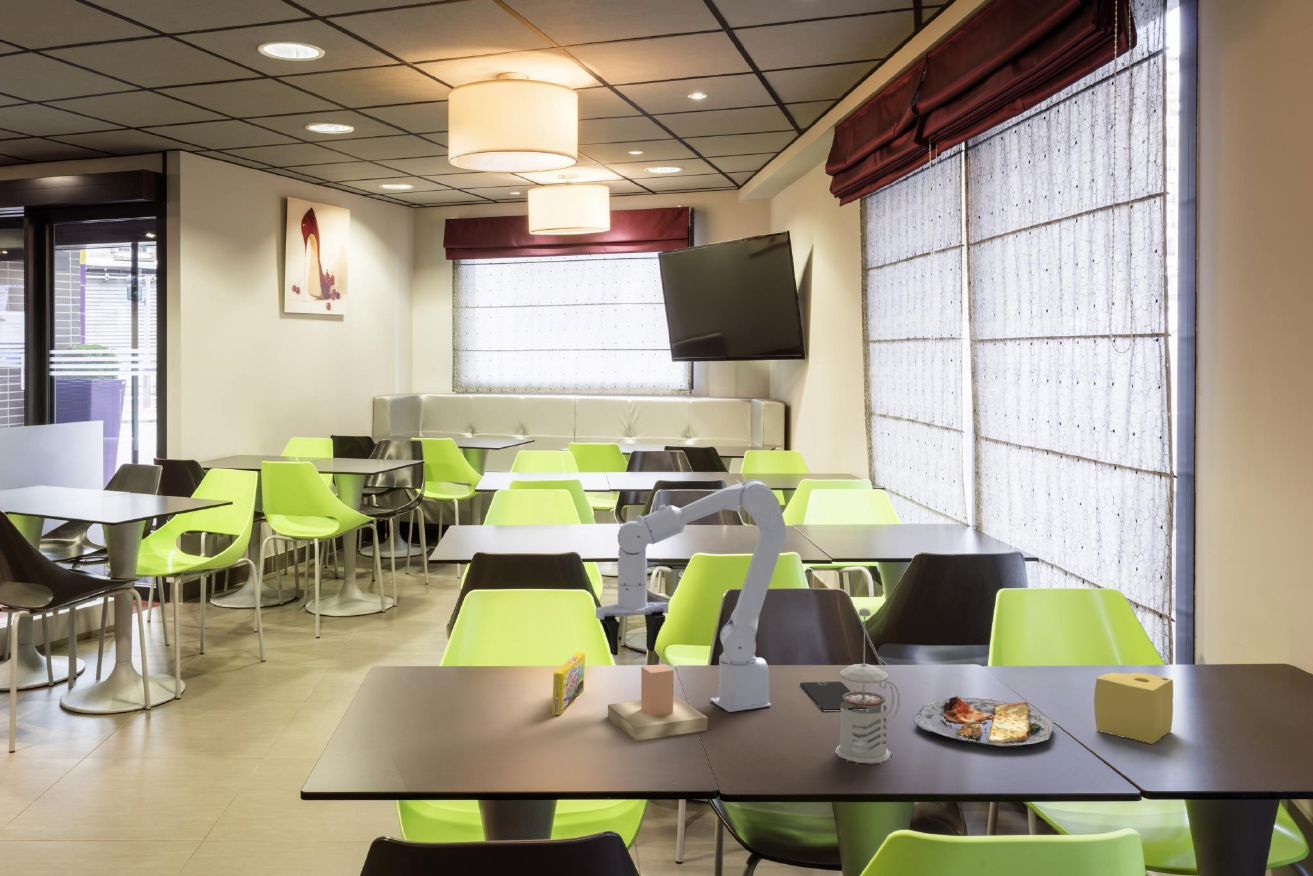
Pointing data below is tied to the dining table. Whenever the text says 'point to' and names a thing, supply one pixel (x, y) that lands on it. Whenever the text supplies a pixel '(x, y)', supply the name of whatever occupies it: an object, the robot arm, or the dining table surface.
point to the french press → (864, 714)
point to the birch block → (656, 720)
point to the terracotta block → (657, 690)
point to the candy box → (568, 683)
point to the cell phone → (828, 694)
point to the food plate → (1008, 722)
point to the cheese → (1134, 705)
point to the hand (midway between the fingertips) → (632, 652)
